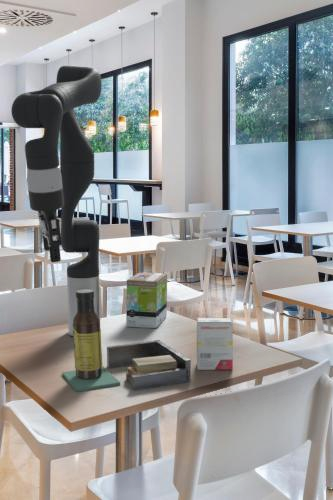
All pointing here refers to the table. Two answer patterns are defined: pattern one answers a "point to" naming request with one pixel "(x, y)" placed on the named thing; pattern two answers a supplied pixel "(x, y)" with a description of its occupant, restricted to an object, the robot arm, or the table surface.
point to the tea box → (146, 300)
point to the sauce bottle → (87, 337)
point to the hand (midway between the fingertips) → (52, 255)
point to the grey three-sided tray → (128, 352)
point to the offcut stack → (151, 365)
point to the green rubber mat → (90, 380)
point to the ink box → (214, 344)
